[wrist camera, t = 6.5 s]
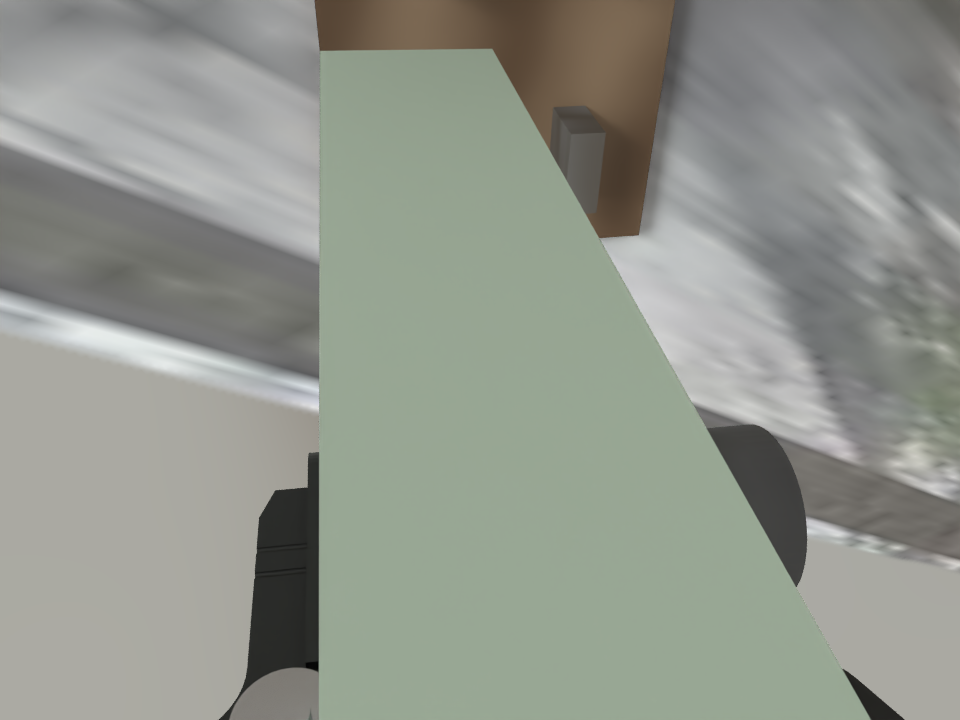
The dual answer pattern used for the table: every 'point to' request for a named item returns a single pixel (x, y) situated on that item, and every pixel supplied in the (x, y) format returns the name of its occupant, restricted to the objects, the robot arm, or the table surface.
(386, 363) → the door
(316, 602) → the robot arm
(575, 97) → the wooden l-shaped stand
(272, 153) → the table surface
